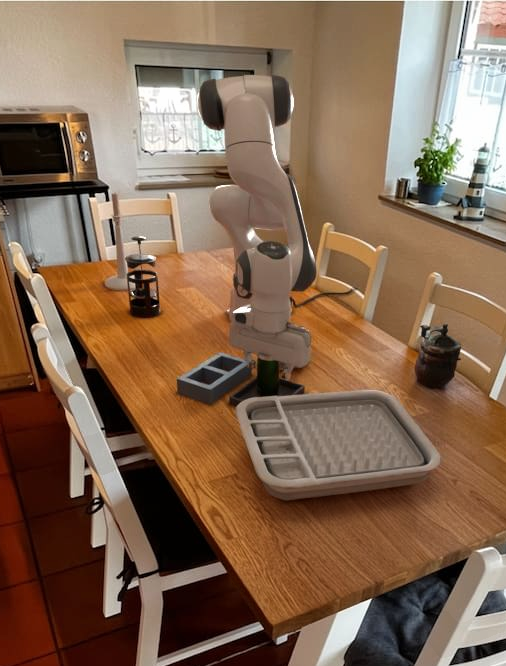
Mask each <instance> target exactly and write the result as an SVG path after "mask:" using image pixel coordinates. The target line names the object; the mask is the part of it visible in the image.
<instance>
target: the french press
mask: <svg viewBox="0 0 506 666" xmlns="http://www.w3.org/2000/svg"><path fill="white" fill-rule="evenodd" d="M146 240H147V237H145V236H141V235H140V236H139V235H137V236H132V237H131V241H135V242H137V245H138V251H139V253H137V254H136V253H135V254H129V255H127V256H126V257H125V261H126V262H127V267H128V268H129V269H131V270H132V271H128V273H127V284H128V290H127V294H128V302H129V315H130V316H132V317H134V318H139V319H150V318H155V317H158V316H159V315H160V314H162V310H161V305H160V293H159V292H160V291H159V290H160V289H159V279H158V277H159V276H158V272H156V271H154V270H150V269H149V270H148V269H143V265H149V266H150V267H153V268H155V267H156V262H157V257H156V256H155V255H152V254H147V253H142V251H141V250H142V249H141V245H142V242H144V241H146ZM139 266H140V268H138V267H139ZM143 275H149V276H152V277H151V278H144V276H143ZM130 276H134V278H135V279H133V278H130ZM129 282H132V283H135V288H136V289H133V290H130V286H129ZM152 283H155V288H156V289H155V288H151V287H150V286H151V285H150V284H152Z"/></svg>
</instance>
